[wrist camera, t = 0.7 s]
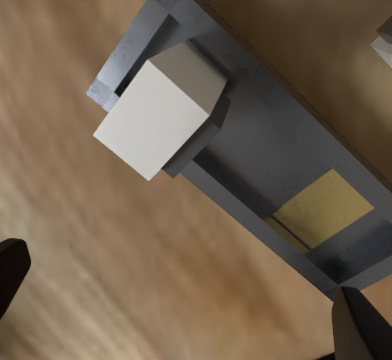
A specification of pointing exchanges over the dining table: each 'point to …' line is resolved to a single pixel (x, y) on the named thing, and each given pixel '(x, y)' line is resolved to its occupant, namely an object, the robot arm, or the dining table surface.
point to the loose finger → (384, 42)
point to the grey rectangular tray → (269, 153)
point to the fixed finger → (167, 111)
